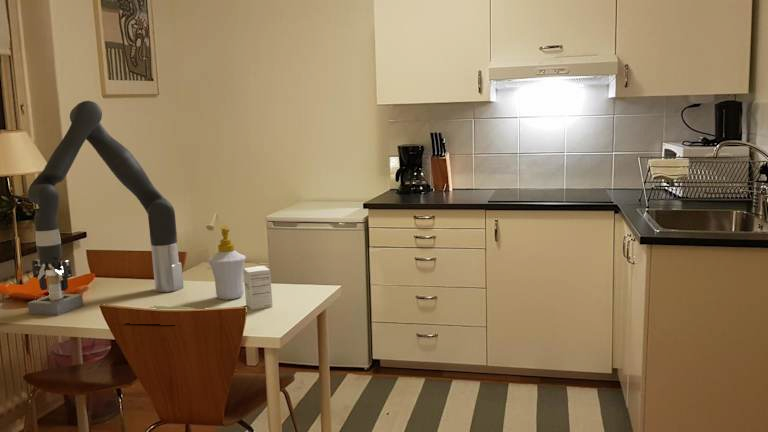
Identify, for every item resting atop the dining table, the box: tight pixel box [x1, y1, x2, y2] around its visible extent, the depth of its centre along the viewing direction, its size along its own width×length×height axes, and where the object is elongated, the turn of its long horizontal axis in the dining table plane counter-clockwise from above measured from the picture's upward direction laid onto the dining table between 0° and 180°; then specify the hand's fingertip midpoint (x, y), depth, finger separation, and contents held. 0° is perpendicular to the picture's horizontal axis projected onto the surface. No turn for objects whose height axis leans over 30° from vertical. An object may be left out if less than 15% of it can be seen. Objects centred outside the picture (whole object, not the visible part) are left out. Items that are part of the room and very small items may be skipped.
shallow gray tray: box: [27, 293, 84, 317], centre depth 252 cm, size 26×21×4 cm
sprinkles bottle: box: [46, 270, 64, 302], centre depth 245 cm, size 5×5×13 cm
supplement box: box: [243, 265, 273, 311], centre depth 237 cm, size 7×7×13 cm
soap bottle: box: [208, 225, 247, 301], centre depth 250 cm, size 13×13×25 cm
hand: (54, 290), depth 245 cm, fingers open, 8 cm apart
